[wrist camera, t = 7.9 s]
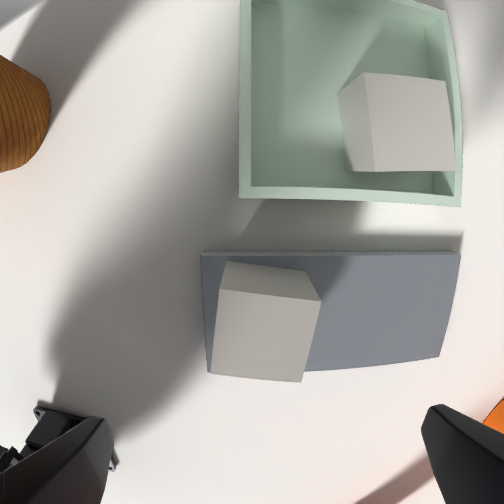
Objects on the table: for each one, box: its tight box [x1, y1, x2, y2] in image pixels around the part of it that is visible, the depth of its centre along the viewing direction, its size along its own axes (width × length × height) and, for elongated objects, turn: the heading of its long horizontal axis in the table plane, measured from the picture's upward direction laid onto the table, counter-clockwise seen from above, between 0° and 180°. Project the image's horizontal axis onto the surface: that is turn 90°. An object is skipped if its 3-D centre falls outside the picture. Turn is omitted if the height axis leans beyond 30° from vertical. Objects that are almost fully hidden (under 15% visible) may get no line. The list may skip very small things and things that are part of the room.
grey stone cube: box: [211, 261, 321, 383], centre depth 15 cm, size 4×4×4 cm
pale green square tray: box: [239, 0, 463, 207], centre depth 14 cm, size 11×11×3 cm
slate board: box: [200, 251, 461, 372], centre depth 17 cm, size 7×15×1 cm, turn 90°
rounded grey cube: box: [337, 72, 456, 172], centre depth 13 cm, size 4×4×4 cm
